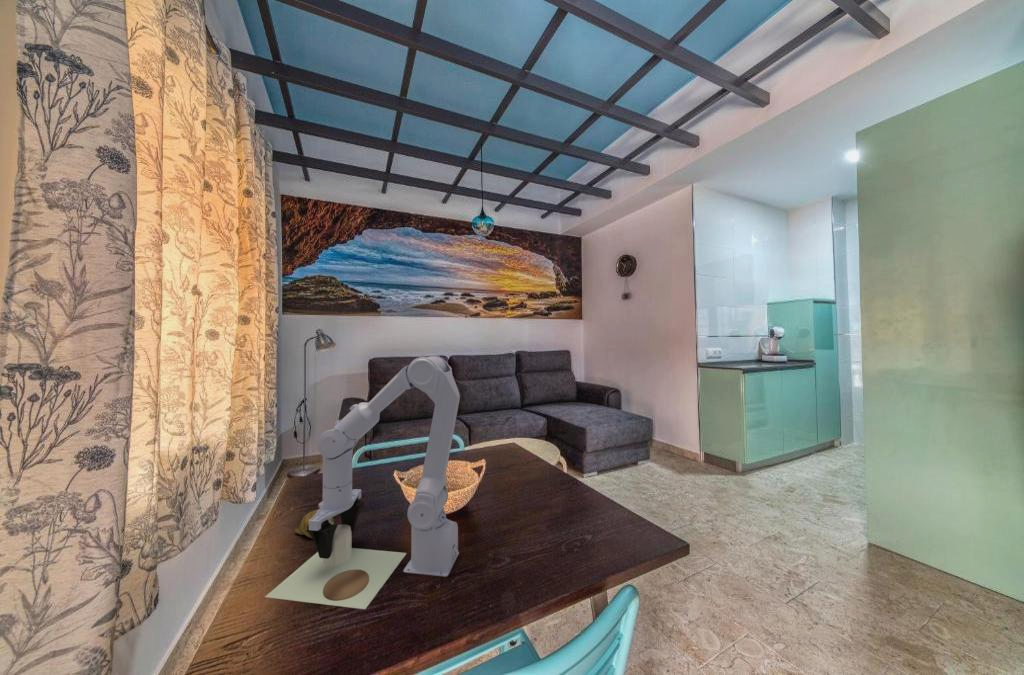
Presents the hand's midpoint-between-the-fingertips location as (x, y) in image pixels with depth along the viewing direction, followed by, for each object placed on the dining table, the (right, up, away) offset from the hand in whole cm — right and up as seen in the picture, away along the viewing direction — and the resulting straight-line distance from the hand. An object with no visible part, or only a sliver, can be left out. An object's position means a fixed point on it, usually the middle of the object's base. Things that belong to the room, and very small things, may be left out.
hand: (337, 546), depth 73 cm
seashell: (-11, -4, +10) cm, 16 cm away
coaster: (+6, -3, -8) cm, 10 cm away
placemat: (+3, -3, -5) cm, 7 cm away
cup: (0, -3, 0) cm, 3 cm away
